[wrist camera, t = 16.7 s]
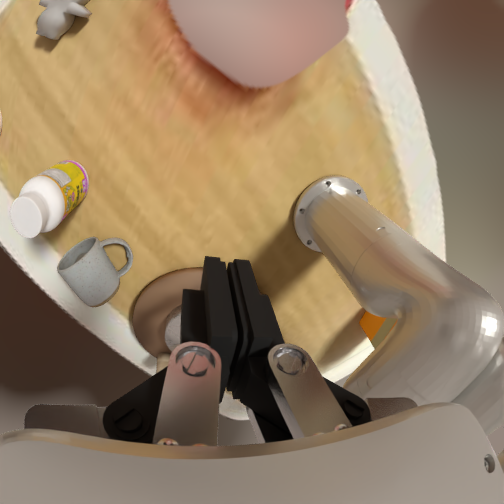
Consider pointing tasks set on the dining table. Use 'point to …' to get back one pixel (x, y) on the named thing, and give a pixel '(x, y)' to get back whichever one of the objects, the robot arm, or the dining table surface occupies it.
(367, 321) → the orange juice
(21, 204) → the supplement bottle
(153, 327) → the lazy susan
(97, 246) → the ceramic mug
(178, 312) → the steel cover
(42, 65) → the dining table surface
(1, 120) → the bottle
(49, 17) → the bunny figurine
